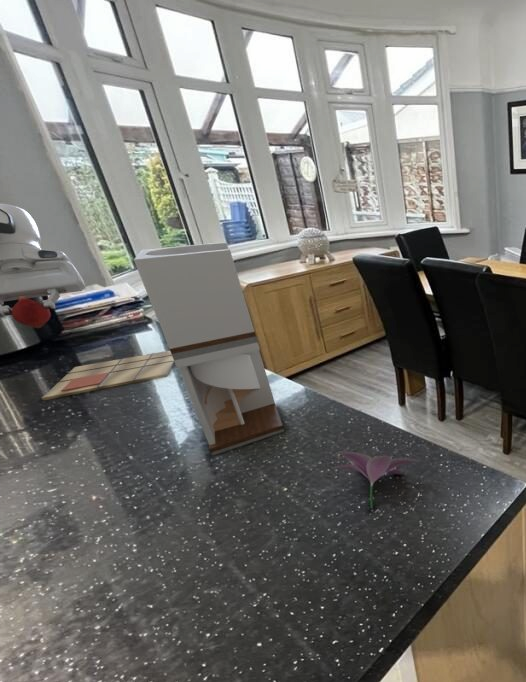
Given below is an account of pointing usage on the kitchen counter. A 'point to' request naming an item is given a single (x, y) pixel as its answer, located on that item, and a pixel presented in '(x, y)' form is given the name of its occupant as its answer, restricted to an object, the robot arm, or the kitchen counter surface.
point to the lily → (373, 466)
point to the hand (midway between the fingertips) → (29, 311)
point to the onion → (30, 312)
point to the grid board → (112, 374)
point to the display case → (211, 341)
